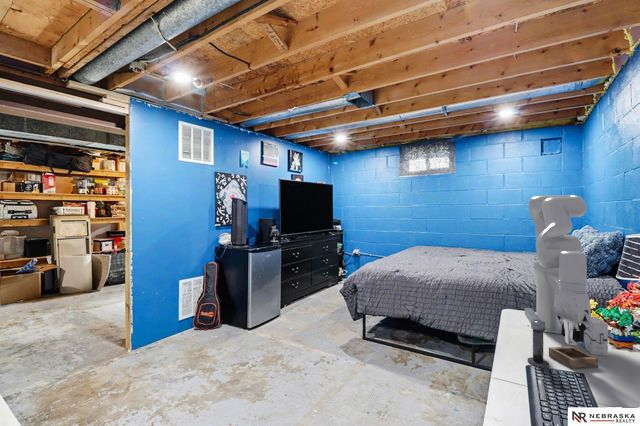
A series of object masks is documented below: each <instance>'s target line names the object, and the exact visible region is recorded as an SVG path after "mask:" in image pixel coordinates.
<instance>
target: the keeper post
mask: <svg viewBox="0 0 640 426" xmlns="http://www.w3.org/2000/svg"><path fill="white" fill-rule="evenodd" d="M527 362H528V364H530V365H532V366H535V367H537V366H539V367H538V368H541V367H544V369H546V368H549V367H550V363H549V362H548V361H547V360H545V359H544V331H537V330H534V329H532V356H531V357H528V358H527Z"/></svg>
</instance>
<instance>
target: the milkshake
mask: <svg viewBox="0 0 640 426" xmlns="http://www.w3.org/2000/svg"><path fill="white" fill-rule="evenodd" d="M563 322H564V333H565V337H564V341H565V343H566V344H567V345H571V346H578V342H575V341H574V330H576V329H575V322H573V321H570V320H568V319H565V318H563ZM580 325H581V323H579V326H580Z"/></svg>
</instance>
